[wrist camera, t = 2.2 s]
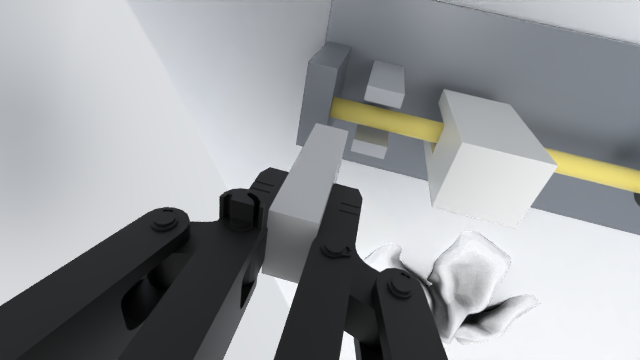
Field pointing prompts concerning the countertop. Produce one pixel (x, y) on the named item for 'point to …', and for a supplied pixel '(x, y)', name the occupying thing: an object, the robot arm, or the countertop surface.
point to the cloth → (464, 288)
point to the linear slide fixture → (482, 95)
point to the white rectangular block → (485, 161)
